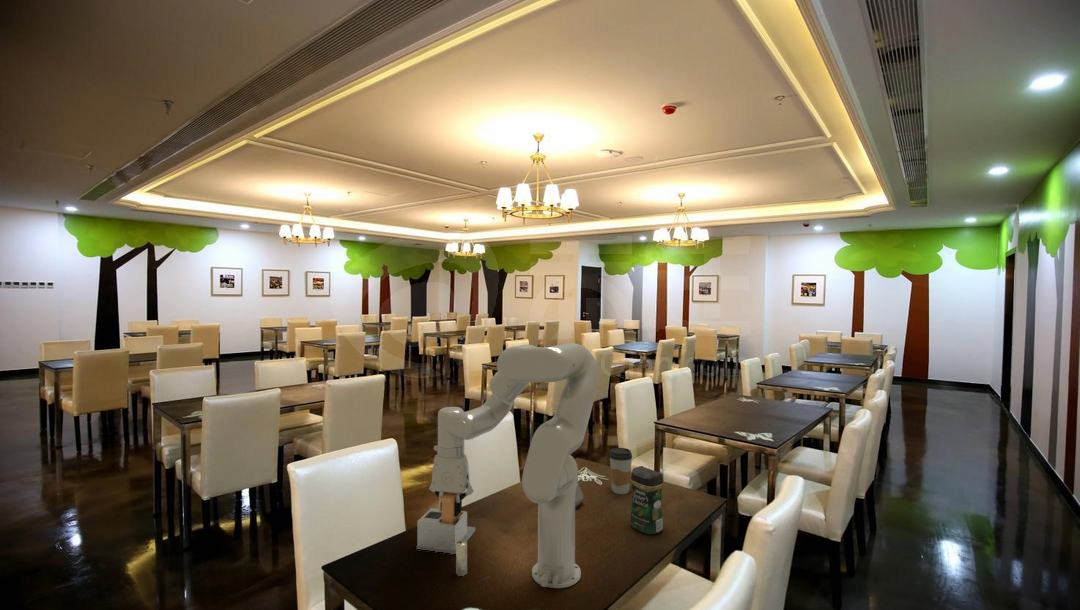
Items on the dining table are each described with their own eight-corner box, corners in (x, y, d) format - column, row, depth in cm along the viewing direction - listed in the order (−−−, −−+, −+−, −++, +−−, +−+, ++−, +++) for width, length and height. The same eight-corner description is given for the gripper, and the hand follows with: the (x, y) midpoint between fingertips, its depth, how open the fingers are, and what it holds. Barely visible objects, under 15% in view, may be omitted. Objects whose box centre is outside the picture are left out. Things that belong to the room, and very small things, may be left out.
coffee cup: (635, 489, 188) (635, 449, 188) (626, 497, 181) (627, 455, 181) (614, 485, 193) (614, 445, 192) (605, 492, 186) (605, 451, 185)
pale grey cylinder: (464, 577, 130) (464, 546, 130) (454, 575, 131) (454, 545, 131) (468, 571, 133) (468, 541, 133) (458, 570, 134) (458, 540, 133)
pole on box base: (456, 554, 141) (456, 483, 141) (416, 549, 144) (416, 479, 144) (475, 530, 156) (475, 465, 156) (438, 526, 159) (438, 462, 158)
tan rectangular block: (450, 527, 142) (450, 498, 142) (439, 526, 143) (439, 497, 143) (462, 513, 151) (462, 486, 151) (452, 512, 152) (452, 485, 152)
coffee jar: (626, 526, 159) (626, 467, 158) (642, 519, 164) (643, 462, 163) (650, 538, 151) (650, 476, 151) (667, 530, 156) (667, 470, 156)
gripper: (418, 452, 145) (419, 516, 145) (473, 457, 141) (473, 522, 142) (430, 444, 152) (430, 505, 153) (482, 449, 148) (482, 511, 149)
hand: (451, 513), depth 147 cm, fingers closed on tan rectangular block, 3 cm apart
